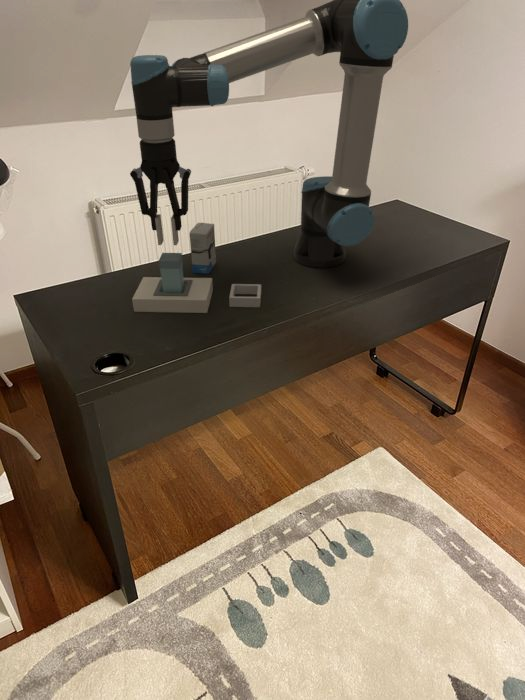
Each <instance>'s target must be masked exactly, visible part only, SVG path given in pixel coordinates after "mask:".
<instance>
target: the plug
mask: <svg viewBox="0 0 525 700" xmlns="http://www.w3.org/2000/svg"><path fill="white" fill-rule="evenodd" d="M183 260H184V259H183V253H182V252H161V254H160V257H159V258H158V269H160V277H161V279H162V287H163V293H184V290H185V287H184V278H185V277H184V269H183Z"/></svg>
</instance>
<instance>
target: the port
mask: <svg viewBox="0 0 525 700" xmlns="http://www.w3.org/2000/svg"><path fill="white" fill-rule="evenodd" d="M184 287H185V290H184V293H163V287H162V279H161V276H160V277H157V276H156V277H155V276H153V277H151V276H143V277H142V279H141V281H140V283H139V285H138V287H137V288H136V291H135V292H134V294H133V297H132V298H131V300H132V307H133V312H134V313H135V312H136V313H138V312H139V313H188V314H189V313H191V314H192V313H197V314H202V313H203V314H208V310H209V307H210V304H211V299H212V295H213V291H214V285H213V278H212V277H184Z"/></svg>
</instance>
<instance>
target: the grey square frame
mask: <svg viewBox="0 0 525 700" xmlns="http://www.w3.org/2000/svg"><path fill="white" fill-rule="evenodd" d="M236 295H256V296H236ZM228 302H229V308H261V302H262V284H259V283H255V284H253V283H252V284H251V283H232V284H231V287H230V292H229V298H228Z"/></svg>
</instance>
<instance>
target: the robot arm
mask: <svg viewBox="0 0 525 700" xmlns="http://www.w3.org/2000/svg"><path fill="white" fill-rule="evenodd" d="M408 34H409V17H408V13H407V9H406V7H404V4H403V2H401V0H331V1H329V2H325V4H324V3H323V4H322V5H320V6H317V7H314V8H311V9H308V10H307V12H306V14H305V16H304V17H301V18H299V19H296V20H293V21H291V22H287V23H285V24H282V25H280V26H276V27H273V28H270V29H267V30H264V31H262V32H259V33H255V34H253V35H250V36H248V37H245V38H242V39H239V40H237V41H234V42H231V43H228V44H225V45H222V46H220V47H216V48H214V49H211V50H208V51H205V52H203V53H200V54H196V55H194V56H191V57H182V58H178V59H177V60H175V61H174V62H173V63H172V64H171V65H170V64H169V60H168V58H167V56H165V55H162V54H155V55H154V54H146V55H145V54H144V55H143V54H142V55H135V56H133V57H132V58H131V60H130V61H129V62H130V78H131V81H130V82H131V87H132V88H131V89H132V94H133V95H132V96H133V102H134V109H135V115H136V118H135V119H136V125H137V132H138V133H137V135H138V138H139V139H140V141H139V148H140V149H139V150H140V156H141V157H140V158H141V162H140V166H139V167H137V168H133V169H132V170H131V171H130V172H129V175H130V177H131V178H132V180H133V182H134V185H135V186H134V187H135V190H136V194H137V198H138V203H139V206H140V207H139V209H140V211H141V212H140V213H141V215H143V216H148V217H150V225H151V229H152V231H155V232H156V238H157V245H158V246H162V245H163V243H164V232H163V224H162V215H161V213H160V214H159V212H158V200H159V199H158V198H159V184H163V185H165V188H166V191H167V194H168V198H169V202H170V206H171V210H172V216H171V218H170V222H171V223H170V224H171V232H172V243H173V246H178V244H179V232H180V231H181V229H182V227H183V226H182V217H183V216H186V215H187V213H188V211H189V179H190V177H191V174H192V170H191V168H187V169H186V168H185V167H182V166H181V165H180V163H179V160H178V158H177V157H178V156H177V146H176V140H175V139H174V137H175V126H174V125H175V124H174V115H173V108H181V107H204V106H205V107H206V106H209V107H210V106H211V107H214V106H218V105H224V104H226V103H227V102H228V100H229V96H230V84H231V83H234V82H236V81H239V80H242V79H245V78H247V77H251V76H253V75H256V74H260V73H262V72H264V71H268V70H270V69H271V70H272V69H273V68H277V67H279V66H282V65H285V64H288V63H291V62H292V61H296V60H298V59H301V58H304V57H306V56H309V55H312V54H313V55H314V56H316V57H321V56H323V55H327V54H332V53H340V54H339V63H338V64H339V66H340V67H341V69H342V70H343V71H344V76H343V78H344V79H343V86H342V93H341V100H340V101H341V102H340V103H341V104H340V111H339V116H338V117H339V119H338V125H337V127H338V129H337V135H336V143H335V150H334V151H335V152H334V158H333V159H334V161H333V168H332V174H331V175H332V176H331V175H330V176H327V175H325V176H323V175H322V176H314V177H310V178H307V179H305V180H304V181H303V183H302V189H301V191H300V192H301V207H300V208H301V210H300V211H301V212H300V213H301V215H300V232H299V235H298V237H297V240H296V243H295V246H294V248H293V258H294V260H295V261H296V262H297V263H299V264H301V265H302V266H307V267H311V268H320V269H321V268H331V267H336V266H339V265H341V264H343V263H344V262H345V260H346V248H345V247H352V246H356V245H358V244H360V243H361V242H363V241H364V239H367V238H368V236H369V235H370V234H371V232H373V229H374V226H375V223H376V222H375V214H374V212H373V209H372V208H371V207H370V203H371V202H370V201H371V197H372V190H371V189H370V187H369V186H368V184H367V183H368V182H367V181H368V174H369V168H370V163H371V157H372V149H373V145H374V144H373V143H374V137H375V130H376V125H377V118H378V113H379V112H378V111H379V106H380V105H379V104H380V99H381V93H382V87H383V80H384V76H385V74H387V73H388V72H389V71H390V70H391V69H393V63H394V57H395V55H397V53H398V52H399V50H400V49H401V48H403V46H404V43H405V42H406V39H407V36H408ZM178 173H179V178H180V179H181V182H180V184H181V185H180V186H181V187H180V188H181V189H180V192H181V193H180V194H181V196H180V197H181V198H180V199H181V201H180V202H181V203H180V204H179V198H178V195H177V191H176V187H175V180H174V179H175V177H176V175H177V174H178ZM143 175H145V176H146V177H147V180H149V188H150V191H149V193H150V194H149V196H150V197H149V201H148V198H147V194H146V189H145V184H144V180H143ZM148 202H149V203H148ZM180 206H181V207H180Z"/></svg>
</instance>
